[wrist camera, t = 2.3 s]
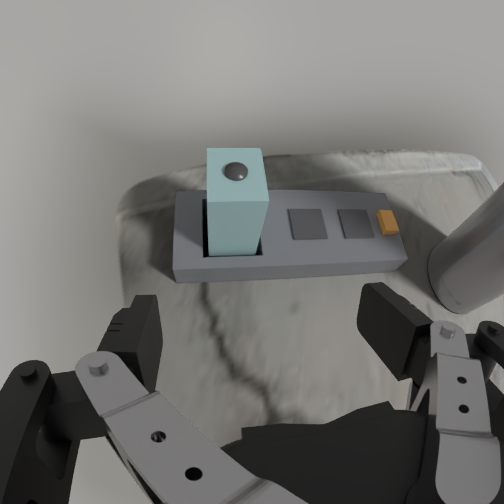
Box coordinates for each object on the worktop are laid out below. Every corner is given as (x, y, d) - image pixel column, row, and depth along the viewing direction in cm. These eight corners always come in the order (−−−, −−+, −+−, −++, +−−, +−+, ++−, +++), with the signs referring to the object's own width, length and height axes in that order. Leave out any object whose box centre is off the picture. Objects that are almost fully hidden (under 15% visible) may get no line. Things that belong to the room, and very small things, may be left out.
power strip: (176, 283, 27) (171, 265, 23) (178, 209, 30) (175, 186, 27) (393, 271, 30) (412, 255, 26) (374, 208, 33) (388, 189, 30)
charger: (209, 267, 28) (206, 200, 19) (208, 221, 30) (206, 145, 21) (252, 265, 28) (269, 199, 19) (247, 220, 31) (261, 146, 21)
